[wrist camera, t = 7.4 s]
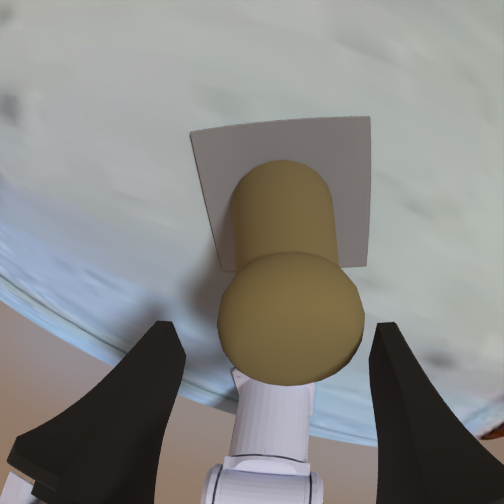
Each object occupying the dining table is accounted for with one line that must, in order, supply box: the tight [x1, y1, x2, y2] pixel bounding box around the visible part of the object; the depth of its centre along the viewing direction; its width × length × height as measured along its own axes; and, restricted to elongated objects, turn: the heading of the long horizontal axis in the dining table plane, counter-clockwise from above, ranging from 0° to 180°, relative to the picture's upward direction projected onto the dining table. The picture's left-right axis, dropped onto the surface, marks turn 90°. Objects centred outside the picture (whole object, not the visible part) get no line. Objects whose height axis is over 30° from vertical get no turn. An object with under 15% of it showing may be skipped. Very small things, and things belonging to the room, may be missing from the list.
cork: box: [217, 160, 365, 386], centre depth 14 cm, size 6×6×11 cm
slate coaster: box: [190, 116, 371, 272], centre depth 19 cm, size 10×10×1 cm
